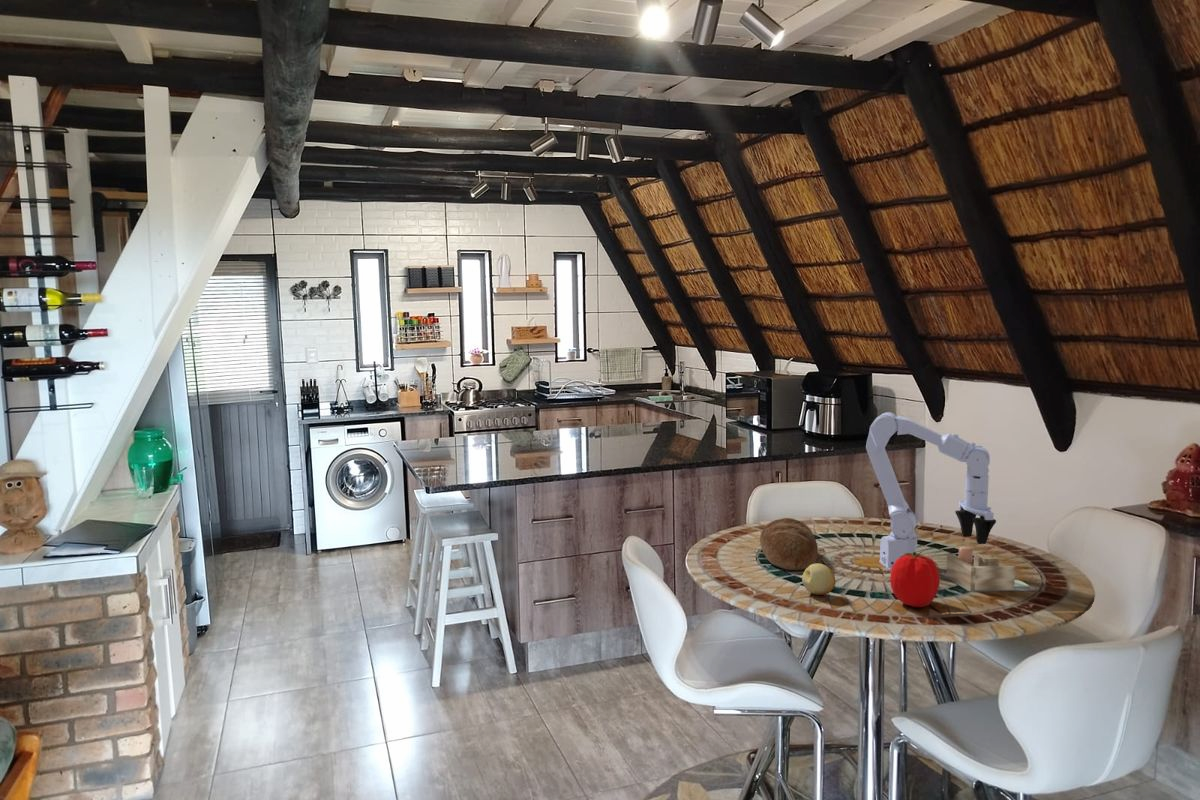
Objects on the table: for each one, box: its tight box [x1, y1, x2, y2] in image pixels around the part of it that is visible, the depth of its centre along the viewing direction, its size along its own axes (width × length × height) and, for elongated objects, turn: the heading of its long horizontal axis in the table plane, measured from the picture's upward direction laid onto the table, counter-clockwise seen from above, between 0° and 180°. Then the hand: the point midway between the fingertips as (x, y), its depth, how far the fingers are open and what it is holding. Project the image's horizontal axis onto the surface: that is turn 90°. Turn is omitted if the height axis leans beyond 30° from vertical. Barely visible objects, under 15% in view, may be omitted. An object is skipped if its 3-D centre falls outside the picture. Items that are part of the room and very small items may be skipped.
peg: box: [957, 545, 974, 566], centre depth 223 cm, size 4×4×8 cm
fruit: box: [801, 562, 836, 596], centre depth 209 cm, size 8×8×8 cm
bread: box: [759, 517, 819, 571], centre depth 243 cm, size 16×29×11 cm, turn 176°
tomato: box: [889, 550, 941, 608], centre depth 201 cm, size 12×12×13 cm
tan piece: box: [945, 553, 1016, 591], centre depth 218 cm, size 12×13×6 cm
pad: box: [1014, 579, 1030, 587], centre depth 217 cm, size 5×5×1 cm
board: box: [939, 572, 1037, 593], centre depth 219 cm, size 18×16×1 cm
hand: (974, 540), depth 225 cm, fingers open, 7 cm apart
